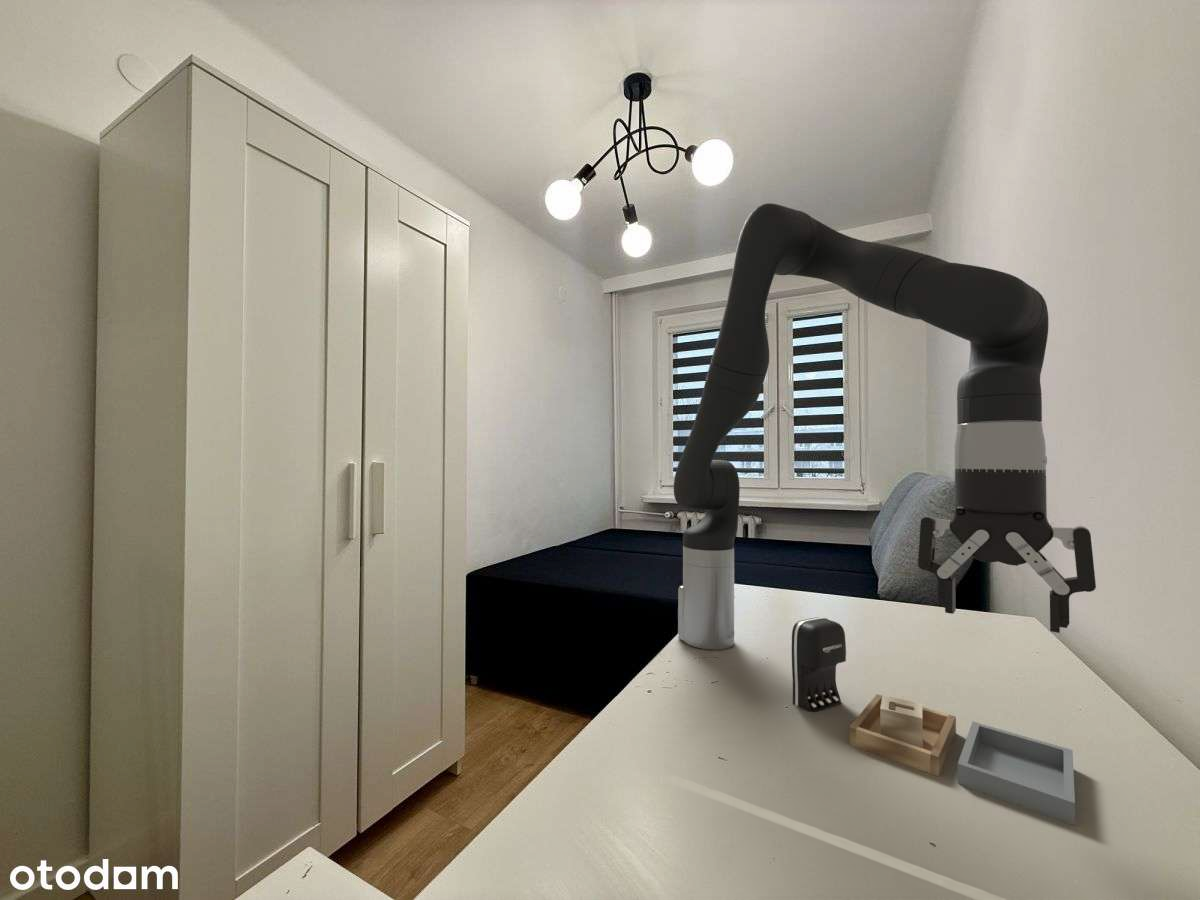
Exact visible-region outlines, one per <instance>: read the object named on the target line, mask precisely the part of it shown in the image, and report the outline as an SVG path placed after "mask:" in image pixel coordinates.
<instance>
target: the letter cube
mask: <svg viewBox="0 0 1200 900" xmlns="http://www.w3.org/2000/svg"><path fill="white" fill-rule="evenodd" d="M881 695H882V701H881V707H880V729H881V735H884V736H887V737H890V738H893V739H896V740H899V741H902V742H905V743H908V744H911V745H914V746H917V747H920V748H923V715H922V707H923V703H920V702H915V701H911V700H906V699H903V698H902V699H901V698H897V697H892V696H890V695H889V696H888V695H884V694H881Z"/></svg>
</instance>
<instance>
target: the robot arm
mask: <svg viewBox="0 0 1200 900" xmlns="http://www.w3.org/2000/svg"><path fill="white" fill-rule="evenodd" d="M731 272H732V273H731V276H730V278H731V279H730V283H729V284H730V285H729V289H728V295H727V299H726V305H725V308H724V312H723V316H722V320H721V323H720V329H719V332H718V336H717V339H716V340H717V341H716V343H715V347H714V350H713V352H712V357H711V359H710V362H709V367H708V370H707V374H706V377H705V382H704V386H703V389H702V394H701V398H700V402H699V405H698V408H697V412H696V415H695V418H694V420H693V421H694V422H693V424H692V428H691V430H690V433H689V436H688V438H687V441H686V443H685V446H684V448H683V451H682V453H681V457H680V459H679V461H678V464H677V467H676V470H675V471H676V472H675V475H674V480H673V497H674V499H675V502H676V503H677V505H678V506H679V507H680V508H681V509H682V508H683V509H685V510H692V511H693V510H694V511H697V510H698V511H700V510H705V515H704V517H702V519H701V520H699V522H697V523H696V524H694V525H692V526H689V527H688V528H686V529H685V530H684V532H683V535H682V585H679V587H678V590H677V591H678V593H677V595H678V596H677V597H678V598H677V600H678V601H677V602H678V603H677V606H678V607H677V622H678V623H677V639H678V640H681V641H683V642H684V643H685V644H687V645H689V646H691V647H695V648H699V649H703V650H726V649H729V648H731V647H733V646H734V644H735V539H736V536H737V533H738V528H739V508H740V507H739V506H740V491H741V490H740V479H739V473H738V471H737V468H736V467H735V466H734V464H733V463H732V462H730V461H728V460H724V459H723V460H722V459H714V457H715V455H716V452H717V451H718V449H719V446H720V445H721V443H722V441H723V440H724V439H725V437H727V435H728V434H729V433H730V432H731V431H732V430H733V429H734V428H735V427H736V426H737V425H738V424H739V423H740V422H741V421H742V420H743V419H744V418H745V417H746V415H747V414H748V413H750V411H751V410H752V408H753V407H754V406H755V405H756V403H757V401H758V399H759V396H760V393H761V391H762V388H763V385H764V382H765V379H766V376H767V372H768V368H769V364H770V346H769V344H770V343H769V338H768V333H767V325H766V306H767V301H768V298H769V293H770V289H771V286H772V283H773V281H774V278H775V275H776V276H777V275H778V276H798V277H805V278H812V279H817V280H823V281H826V282H828V283H832V284H835V285H837V286H838V287H841V288H842V289H844V290H846V291H848V292H849V293H850V294H852V295H853V296H855V297H858V298H859V299H861V300H863V301H865V302H868V303H869V304H872V305H874V306H877V307H878V308H879V307H880V308H882V309H885V310H887V311H890V312H892V313H895V314H898V315H900V316H903V317H905V318H909V319H914V320H920V321H923V322H924V323H927V324H930V325H931V326H934V327H936V328H938V329H940V330H942V331H944V332H947V333H950V334H952V335H954V336H957V337H959V338H962V339H963V340H966V341H968V342H969V344H970V345H969V346H970V355H969V363H968V372H966V373H965V374H962V376H961V377H960V379H959V380H958V383H957V389H956V390H957V391H956V413H957V414H956V415H957V416H956V420H957V421H956V423H957V424H956V434H955V442H954V515H953V517H952V518H951V520H950V519H944V518H937V517H935V516H933V515H928V516H925V517H922V518H921V520H920V527H919V543H918V544H919V545H918V556H917V557H918V559H917V567H918V568H919V569H921V570H922V571H927V572H930V573H932V574H933V575H934V576H935V577H936V579H937V602H938V605H939V607H941V608H942V607H943V608H944V612H945V613H946V614H952V615H954V613H955V612H956V608H957V607H956V604H957V602H956V600H957V599H956V577H954V573H955V572H956V571H957V570H958V569H959V568H961V566H962V565H963V564H964V563H965V562H966V561H967V560H969V558H970V557H971V556H972V558H973V559H976V560H978V561H979V562H981V563H1001V564H1005V565H1007V566H1008V565H1009V566H1016V567H1018V566H1020V565H1024V564H1028V565H1029V566H1030V567H1031V568H1032V570H1034V572H1035V573H1036V574H1037V575H1038V576H1040V577H1041V578H1042V579H1043V581H1044V582H1045V583H1046V584H1047V585H1048V586H1049V587H1050V589H1051V590H1049V632H1051V633H1058V634H1060V633H1061V628H1063V629H1067V628H1068V626H1069V625H1070V597H1071V596H1072V595H1073V594H1074V593H1083V592H1087V593H1089V592H1094V591H1095V590H1096V588H1097V584H1096V575H1095V574H1096V572H1095V565H1094V564H1095V563H1094V556H1093V555H1094V554H1093V553H1094V552H1093V546H1092V536H1091V531H1090V530H1089V529H1088V528H1087V527H1085V526H1082V525H1081V526H1080V525H1078V526H1075V527H1060V526H1059V527H1057V526H1056V527H1052V525H1051V524H1050V523H1049V520H1048V518H1047V516H1048V514H1047V511H1048V510H1047V464H1048V457H1047V451H1046V449H1047V447H1046V439H1045V436H1044V435H1045V434H1044V429H1043V406H1042V405H1043V403H1042V399H1043V398H1042V386H1041V373H1042V369H1043V366H1044V361H1045V354H1046V350H1047V342H1048V336H1049V312H1048V311H1049V310H1048V306H1047V302H1046V299H1045V298H1044V297H1043V295H1042V293H1040V292H1039V291H1038V290H1037V289H1036V288H1034V287H1033V286H1031V285H1029V284H1028V283H1027V282H1025V281H1024V280H1022V279H1021V278H1019V277H1017V276H1015V275H1013V274H1011V273H1007V272H1003V271H1001V270H996V269H993V268H988V267H984V266H977V265H972V264H964V263H959V262H949V261H947V260H945V259H942V258H939V257H936V256H933V255H930V254H926V253H922V252H919V251H915V250H911V249H908V248H904V247H901V246H900V247H899V246H896V245H895V246H894V245H890V244H884V243H878V242H872V241H867V240H861V239H858V238H855V237H851V236H849V235H847V234H844V233H841V232H840V231H837V230H835V229H833V228H832V227H830V226H828V225H826V224H824V223H823V222H820V221H819V220H818V219H815V218H814V217H812V216H811V215H810V214H808V213H806V212H804V211H801V210H798V209H794V208H792V207H791V208H790V207H787V206H785V205H781V204H777V203H771V202H770V203H763V204H761V205H759V206H757V207H756V208H755V209H753V211H752V212H751V213H750V214H749V215H748V217H747V218H746V220H745V222H744V224H743V226H742V229H741V231H740V233H739V237H738V242H737V246H736V250H735V254H734V260H733V267H732V271H731ZM946 530H950V532H951V533H952V535H953V536H954V537H955V538H956V539H957V541H958V542H959V543H960V544H961V546H960V547H959V548H958V549H957V550H956V551H955V552H953V554H951V555H950V557H949V558H948V559H947V560H946V561H945V562H944V563H943V562H941V561H939V560H936V559H935V558H936V544H937V543H936V542H937V538H941V537H942V536H943V535H944V534H945V531H946ZM1053 538H1054V539H1055V538H1056V539H1059V541H1061V542H1062V545H1063V547H1064V548H1065V549H1067V550H1071V551H1074V561H1075V570H1076V576H1072V577H1064V576H1063V574H1061V573H1060V572H1059V571H1058V570H1057V568H1056V567H1055V566H1054V565H1053V564H1052V563H1051V562H1050V561H1049V559H1048V558H1047V557H1046V556H1045V555H1044V554H1043V553H1042V552H1041V550H1042V549H1043V548H1045V546H1047V544H1049V543H1050V542H1051V541H1052V539H1053ZM678 635H679V636H678Z"/></svg>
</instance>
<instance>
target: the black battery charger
mask: <svg viewBox="0 0 1200 900" xmlns="http://www.w3.org/2000/svg"><path fill="white" fill-rule="evenodd" d="M846 644H847V643H846V633H845V629H844V627H843V626H842V625H841V624H840V623H838V622H836V621H834V620H831V619H828V618H826V617H822V616H821V617H820V616H819V617H818V616H817V617H812V618H811V617H810V618H806V619H801V620H799V621H796V623H794V626H793V627H792V631H791V673H792V675H791V676H792V704H793V705H794V706H795V707H796V708H800V709H802V710H804V711H805V712H811V713H817V712H820V711H825V710H827V709H830V708H834V707H836V706H840V705H841V704H842V700H841V695H840V694H839V691H838V688H837V687H838V686H837V679H836V677H837V675H836V673H837V665H838V664H842V663H845V662H846V661H847V645H846Z"/></svg>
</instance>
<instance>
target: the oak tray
mask: <svg viewBox="0 0 1200 900" xmlns="http://www.w3.org/2000/svg"><path fill="white" fill-rule="evenodd" d="M882 695H883V694H877V693H876V694H875V696H873V698H871V700H870V702H868V704H867V705H866V706H865V708H864V709H863V710H862V711H861V713H860V714H859V715H858V716H857V717H856V718H855V719H854V720H853V722H852V723H851V724H850V725H849V727H848V728H849V730H848V731H849V734H848V735H849V736H848V737H849V745H850V746H852V747H854V748H858V749H859V750H860V749H861V750H864V751H867V752H869V753H872V754H875V755H878V756H879V757H883V758H886V759H889V760H891V761H894V762H897V763H900V764H903V765H905V766H908V767H911V768H914V769H916V770H919V771H921V772H925V773H928V774H930V775H933V776H935V777H939V776H940V775H941V771H942V769H943V767H944V764H945V761H946V760H947V757H948V754H949V752H950V749H951V747H952V744H953V742H954V741H955V737H956V734H957V722H956V721H957V717H956V716H955V715H951V714H948V713H944V712H941V711H938V710H934V709H931V708H927V707H924V706H922V715H923V748H920V747H917V746H914V745H911V744H908V743H905V742H902V741H899V740H896V739H893V738H890V737H887V736H884V735H881V729H880V707H881V701H882Z"/></svg>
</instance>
